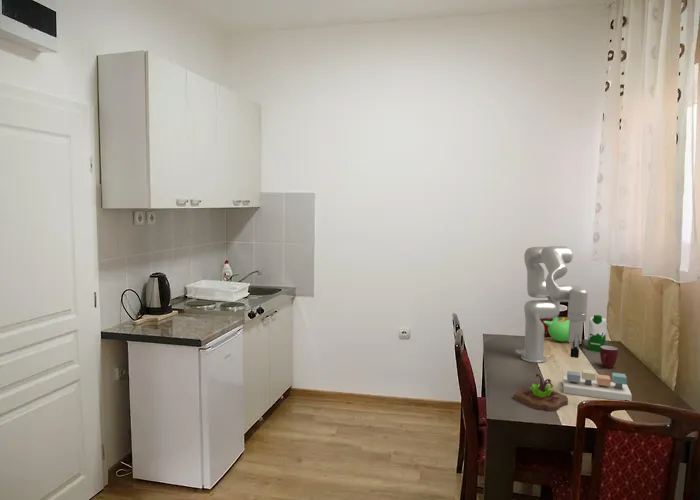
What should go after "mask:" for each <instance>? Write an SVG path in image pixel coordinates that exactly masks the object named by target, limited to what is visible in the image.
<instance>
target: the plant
mask: <svg viewBox="0 0 700 500" xmlns="http://www.w3.org/2000/svg"><path fill="white" fill-rule="evenodd" d="M533 377H534V378H535V379H536V378H538V377H539V383H538V384H536V383H532V384H531V386H527V387H522V388H519V389H517V390H516V392H515V393H514V394H513V399H514V400H515V401H517V402H520V403H522V404H524V405H526V406H529V407H530V408H532V409H537V410H538V411H539V410H540V411H541V410H542V411H543V410H545V411H546V412H557V411H559V410H560V409H561V408H563V407H566V406H568V404H569V398H568V396H567V395H566V394H562V393H560V392H559V391H555V389H554V385H553V383H552V380H551V379H550V378H546V379H545V380H544V381H543V378H542V376H541V375H540V374H539V373H536V374H535V373H534V375H533Z"/></svg>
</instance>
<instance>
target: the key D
mask: <svg viewBox="0 0 700 500" xmlns="http://www.w3.org/2000/svg"><path fill="white" fill-rule="evenodd" d="M627 381H628V377H627V376H626V373H620V372H611V382H613V383H615V388H616V389H622V384H625V385H626V384H627V383H628V382H627ZM627 385H628V384H627Z"/></svg>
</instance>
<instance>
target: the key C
mask: <svg viewBox="0 0 700 500" xmlns="http://www.w3.org/2000/svg"><path fill="white" fill-rule="evenodd" d="M595 380H596V381H597V384H598V385H600V387H606V388H607V386H611V382H612V378H611V377H610V375H606V374H599V373H598V374H596V378H595Z"/></svg>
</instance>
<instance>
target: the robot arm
mask: <svg viewBox="0 0 700 500" xmlns="http://www.w3.org/2000/svg"><path fill="white" fill-rule="evenodd" d="M523 255H524V257H523V259H524V264H525V268H526V273H527V274H526V280H527V282H526V284H527V287H526V289H527V295H528V296H529V297H531V298H537V299H538V298H544V299H545V298H547V299H545V300H544V299H543V300H541V299H538V300H537V299H531V300H528V301H526V303H524V306H523V307H524V308H523V309H524V319H525V330H524V348H523V349H518V348H517V349H515V354H517V355H521V356H520V359H522V360H523V361H525V362H529V363H537V364H538V363H540V364H541V363H544V362H547V357H546V356H545V355H544V350H545V349H544V347H545V330H546V329H545V325H544V323H543V322H542V320H543V319H553V318H556V317H558V318H559V315H560V308H561V307H560V304H561V303H568V305H567V306H568V307H567V317H566V318H567V319H568V320H570V322H569V334H568V340H569V341H568V342H569V344H571V345H570V346H571V347H570V357H571V358H575V359H578V358H579V356H580V354H579V353H580V348H579V347H580V344H582V341H583V339H582V338H583V329H584V327H583V326H584V323H585V322H586V321H587V311H588V298H589V297H588V295H589V293H588V290H587V289H584V288H582V287H580V286H579V285H577V284H576V285H575V284H574V285H567V284H564V285H563V284H562V285H561V284H560V285H559V283H558V282H557V281H556V280H560V279H561V278H563V277H564V276H565V275H567V273H568V266H567V264H569V263H571V262H572V261H573V252H572V250H571V248H570V247H568V246H564V245H563V246H561V245H560V246H558V245H551V246H534V247H533V246H530V247H528V248H527V249H525V251H524V254H523ZM541 264H544V266H545V268H546V270H547V272H548V274H547V276H546V278H545V269H544V268H543V266H542V265H541ZM541 319H542V320H541Z"/></svg>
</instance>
